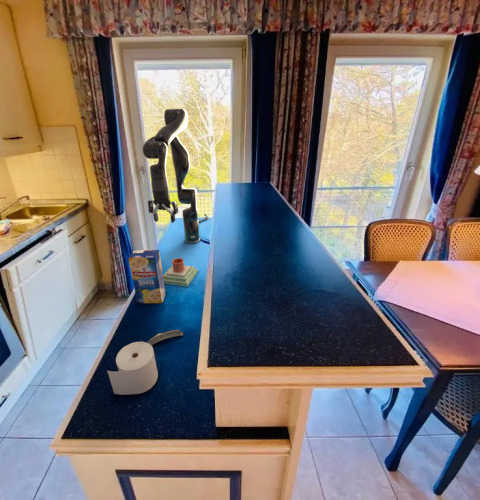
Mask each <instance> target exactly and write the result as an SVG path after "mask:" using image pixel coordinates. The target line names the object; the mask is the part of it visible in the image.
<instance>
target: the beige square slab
mask: <svg viewBox="0 0 480 500" xmlns="http://www.w3.org/2000/svg"><path fill="white" fill-rule="evenodd" d="M171 266H172V265H171ZM184 269H185V270H184V271H183V272H179V273H176V272H174V271H173V266H172V268H171V269H170V270H169V271H168V270H167V271H168V272H167V271H166V272H167V273H166V272H165V273H166V274H167V275H168V276H176V277H185V276H186V275H187V273H188V272H189V271H190V269H191V265H184Z"/></svg>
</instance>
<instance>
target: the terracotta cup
mask: <svg viewBox="0 0 480 500" xmlns="http://www.w3.org/2000/svg"><path fill="white" fill-rule="evenodd" d="M184 260H185V259H183V258H182V257H176V258H174V259H172V260H171V264H172V265H171V266H173V271H174V272H176V273H179V272H183V271H184V270H185V269H184V266H185V261H184Z"/></svg>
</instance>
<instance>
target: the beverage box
mask: <svg viewBox="0 0 480 500" xmlns="http://www.w3.org/2000/svg"><path fill="white" fill-rule="evenodd" d="M127 259H128V264H129V269H130V273H131V279H132V284H133V288H134V294H135V298H136V302H137V304H163V302H164V300H165V298H166V295H167V293H166V287H165V286H166V284H164V279H163V275H164V272H163V265H162V259H161V251H160V249H147V250H146V249H139V250H138V249H137V250H136V249H134V250H132V252H131V254H130V255H129V256H128V258H127Z"/></svg>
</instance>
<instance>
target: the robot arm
mask: <svg viewBox="0 0 480 500" xmlns="http://www.w3.org/2000/svg"><path fill="white" fill-rule="evenodd" d="M163 119H164V126H162V127H161V128H160V129H159V130H158V131H157V132H156V134H155V135H154V136H152V137H150V138H149V139H147V140H146V141H145V142H144V143H143V145H142V154H143V156H144V157H145V158H146V159H150V160H158V161H157V163H154V164H151V165H150V166H149V173H150V174H149V175H150V183H151V191H152V198H153V199H149V200H148V201H147V206H148V207H147V208H148V213H149V214H152V215H153V216H152V217H153V220H154V222H156V223H157V222H159V214H158V212H159V211H166V212H167V213H169V215H170V223H172V224H174V223H175V221H176V215H177V214H178V213H179V207H178V203H179V204H181V205H190V206H189V207H187V208H184V209H183V210H182V211H181V213H182V214H181V215H182V222H183V233H184V242H185V243H187V244H196V243H198V242H200V241H201V238H200V225H199V224H200V223H201V222H204V221H206V220H208V219H209V217H208V215H207V214H206V213H204V214H203V216H205V217H206V218H204V219H201V220H199V212H198V211H199V210H198V208H199V207H198V206H199V205H198V191H197V189H196V188H194V187H193V188H192V187H191V188H190V187H185V180H186V177H187V175H188V173H189V172H190V169H191V161H190V154H189V152H188V149H186V147H185V145H184V144H183V143H182V141H180V139H179V137H178V135H179V134H180V133H181V132H183V130H185V129H186V128H187V126H188V123H189V116H188V112H187V110H186V109H184V108H167V109H165V110H164V113H163ZM169 146H170V153H171V160H172V164H173V170H174V175H175V182H176V190H177V191H176V194H177V199H178V200H171V195H170V186H169V180H168V177H167V176H168V175H167V160H168V155H169ZM177 201H178V202H177ZM154 206H155V207H154Z"/></svg>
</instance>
